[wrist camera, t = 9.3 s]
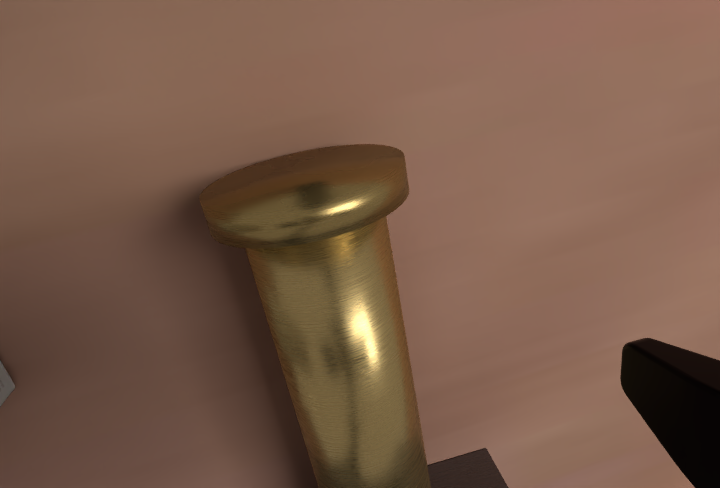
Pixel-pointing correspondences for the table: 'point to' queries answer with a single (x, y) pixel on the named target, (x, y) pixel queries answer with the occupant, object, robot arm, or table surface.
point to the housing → (466, 472)
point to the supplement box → (5, 384)
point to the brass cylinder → (332, 303)
